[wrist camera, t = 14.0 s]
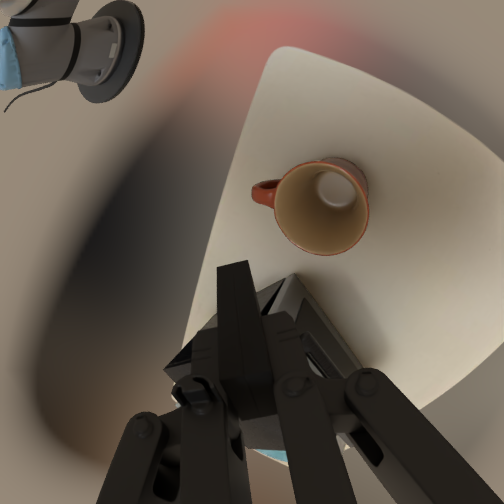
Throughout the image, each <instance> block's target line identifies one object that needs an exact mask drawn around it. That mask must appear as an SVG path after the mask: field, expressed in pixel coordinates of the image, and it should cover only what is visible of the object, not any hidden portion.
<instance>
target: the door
mask: <svg viewBox="0 0 504 504" xmlns="http://www.w3.org/2000/svg"><path fill="white" fill-rule="evenodd" d="M281 311H286V312H287V313H288V314H289V315H290V316H292V317H293V319H294V322H295V325H296V328H297V331H298V334H299V337H300V339H301V342H302V345H303V348H304V351H305V354H306V357H307V360H308V362H309V365H310V367H311V369H312V370H313V371H314V372H315V373H316V374H317V375H319V376H321V377H324V378H329V379H345V378H348V376H349V375H351V374H352V373H353V372H354V371H356V370H359V369H361V368H363V367H362V365H361V364H360V362H359V361H358V360H357V358H356V357H355V355H354V354H353V352H352V351H351V350H350V348H349V347H348V345H347V344H346V343H345V341H344V340H343V338H342V337H341V336H340V334H339V333H338V332H337V330H336V329H335V327H334V326H333V325H332V323H331V322H330V320H329V319H328V318H327V316H326V315H325V314H324V312H323V311H322V309H321V308H320V307H319V305H318V304H317V303H316V301H315V300H314V298H313V297H312V296H311V294H310V293H309V292H308V290H307V289H306V288H305V286H304V285H303V284H302V282H301V281H300V280H299V278H298V277H297V275H296V274H295V273H293V274H292V275H290V276H288V277H287V278H286V279H285V281H284V283H283V285H282V287H281V289H280V291H279V293H278V295H277V297H276V299H275V301H274V303H273V305H272V307H271V309H270V311H269V313H268V314H267V315H269V314H273V313H277V312H281ZM336 434H337V435H338V436H339V437H340V438H341V439H342V440H343V441H344V442H345V443H346V444H347V445H348V446H349V447H354V445H353V444H352V443H351V441H350V440H349V439H348V437H347V436H346V434H345V433H336Z"/></svg>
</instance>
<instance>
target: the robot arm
mask: <svg viewBox="0 0 504 504" xmlns="http://www.w3.org/2000/svg"><path fill="white" fill-rule="evenodd" d="M78 2H79V0H0V10H1V12H2V13H3V15H5V16H8V17H9V16H11V19H10V22H9V25H8V26H5V27H4V28H2V29H0V90H9V89H15V88H18V89H20V88H22V87H26V86H31V85H37V84H42V83H48V82H52V83H50V84H48V85H45V86H43V87H40V88H37V89H34V90H31V91H27V92H24V93H22V94H20V95H18V96H17V97H15V98H14V99H13V100H12V101H11V102H10V104H9V105H8V106H7V108H6V109H5V111H4V112H6V110H7V109H8V107H9V106H10V105H11V103H13V102H14V100H16V99H17V98H19V97H20V96H22V95H25V94H28V93H32V92H35V91H39V90H42V89H44V88H48V87H50V86H52V85H54V84H55V83H56V82H57V81H60V80H68V81H72V82H75V83H79V84H83V85H87V86H96V85H101V84H103V83H105V82H106V81H107V80H108V79H109V78H110V77H111V76H112V75H113V73H114V72H115V70H116V68H117V66H118V64H119V62H120V60H121V57H122V54H123V50H124V45H125V29H124V26H123V23H122V22H121V20H120V19H119V18H117V17H112V16H102V17H98V18H94V19H90V20H86V21H82V22H79V23H70V21H71V18H72V16H73V13H74V11H75V9H76V6H77V4H78ZM171 394H172V395H173V396H174V398H175V399H176V400H177V401H178V403H179V404H180V405H181V406H180V407H179V408H178V409H176V410H174V411H172V412H169V413H167V414H164V415H161V416H157V415H156V414H154V413H151V412H141V413H138V414H136V415H135V416H133V417H132V418H131V419H130V420H129V422H128V423H127V426H126V428H125V430H124V433H123V435H122V437H121V440H120V442H119V445H118V447H117V450H116V452H115V455H114V458H113V460H112V462H111V465H110V468H109V470H108V473H107V475H106V478H105V481H104V484H103V486H102V489H101V491H100V494H99V497H98V500H97V502H96V504H252V499H251V492H250V484H249V477H248V469H247V461H246V453H245V445H244V437H243V433H242V430H241V428H240V426H239V418H240V420H241V421H245V420H251V419H256V418H262V417H267V416H271V415H276V414H278V417H279V421H280V426H281V431H282V436H283V441H284V446H285V451H286V456H287V460H288V465H289V470H290V475H291V480H292V484H293V489H294V494H295V498H296V503H297V504H357V501H356V498H355V495H354V492H353V488H352V485H351V482H350V479H349V476H348V473H347V469H346V466H345V463H344V460H343V457H342V454H341V451H340V448H339V445H338V441H337V438H336V435H335V433H345V434H346V436H347V437H348V439H349V440H350V441H351V443H352V444H353V445H354V447H355V448H356V450H357V451H358V452H359V454H360V455H361V456H362V458H363V459H364V461H365V462H366V463H367V464H368V466H369V467H370V469H371V470H372V471H373V473H374V474H375V475H376V477H377V478H378V479H379V481H380V482H381V483H382V484H383V486H384V487H385V489H386V490H387V491H388V493H389V494H390V495H391V497H392V498H393V499H394V500H395V502H396V503H397V504H504V503H503V502H502V500H501V499H500V498H499V497H498V496H497V495H496V494H495V493H494V491H493V490H492V489H491V488H490V487H489V486H488V485H487V484H486V483H485V481H484V480H483V479H482V478H481V477H480V476H479V475H478V474H477V473H476V472H475V471H474V469H473V468H472V467H471V466H470V465H469V464H468V463H467V462H466V461H465V460H464V458H463V457H462V456H461V455H460V454H459V453H458V452H457V451H456V450H455V449H454V448H453V446H452V445H451V444H450V443H449V442H448V441H447V440H446V439H445V438H444V437H443V436H442V435H441V434H440V432H439V431H438V430H437V429H436V428H435V427H434V426H433V425H432V424H431V423H430V422H429V421H428V420H427V419H426V418H425V417H424V415H423V414H422V413H421V412H420V411H419V410H418V409H417V408H416V407H415V406H414V405H413V404H412V403H411V401H410V400H409V399H408V398H407V397H406V396H405V395H404V394H403V393H402V392H401V391H400V390H399V389H398V388H397V387H396V386H395V385H394V384H393V382H392V381H391V380H390V379H389V378H388V377H387V376H386V375H385V374H384V373H382V372H381V371H379V370H378V369H374V368H361V369H359V370H356V371H354V372H353V373H352V374H351V375H349V376H348V378H345V379H329V378H324V377H321V376H319V375H317V374H316V373H315V372H314V371H313V370H312V369H311V367H310V365H309V362H308V360H307V357H306V354H305V351H304V348H303V345H302V342H301V339H300V337H299V334H298V331H297V328H296V325H295V322H294V319H293V317H292V316H290V315H289V314H288V313H287V312H286V311H281V312H277V313H273V314H269V315H265V316H261V311H260V307H259V302H258V298H257V294H256V290H255V287H254V283H253V279H252V275H251V271H250V267H249V263H248V260H245V261H241V262H236V263H232V264H228V265H224V266H220V267H217V327H214V328H209V329H204V330H199V331H198V332H197V334H196V336H195V337H194V339H193V344H192V361H191V374H189V375H186V376H184V377H183V378H181V379H180V380H178V381H177V383H176V384H175V385H174V386H173V389H172V392H171Z"/></svg>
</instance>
